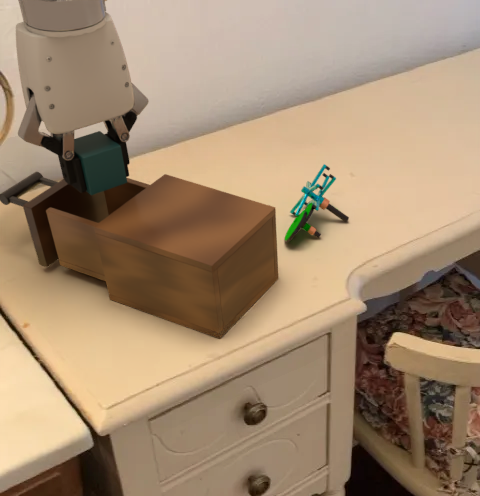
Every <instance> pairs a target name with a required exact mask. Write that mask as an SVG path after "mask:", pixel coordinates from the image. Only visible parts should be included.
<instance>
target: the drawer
mask: <svg viewBox="0 0 480 496" xmlns="http://www.w3.org/2000/svg"><path fill="white" fill-rule="evenodd" d="M126 178H127V183H125V184H122V185H119V186H117V187H114V188H111V189H108V190H105V191H103V192H100V193H97V194H94V195H90V194H89V193H88V192H87V191H86V192H83V193H80V192H79V191H78V190H77V189H76V188H74V187H73V186H72V185H69V184H67V183H66V182H65V180H64V178H63V179H61V180H59V181H56V180H53V179H50V178H47V177H44V176H43V174H42V173H41V172H39V171H34V172H33V173H31V174H30V175H27V176H26V177H24V178H23V179H21V180H20V181H18V182H17V183H15V184H13V185H12V186H10V187H9V188H7V189H6V190H4V191H2V192H1V193H0V202H1V204H3V205H5V206H8V205H10V204H13V205H15V206H19V207H22V209H23V212H24V215H25V220H26V223H27V226H28V229H29V233H30V236H31V240H32V244H33V247H34V250H35V254H36V258H37V261H38V264H39V265H40V266H42V267H45V268H49V267H50V266H51V265H53V264H54V263H55V262H57V261H58V262H59V265H60V266H62V267H64V268H67V269H70V270H72V271H75V272H78V273H81V274H84V275H87V276H89V277H92V278H95V279H97V280H101V281H103V282H106V279H105V275H104V270H103V266H102V261H101V257H100V253H99V248H98V244H97V239H96V235H95V230H94V226H95V225H97V224H98V223H99V222H101V221H102V220H103V219H105V218H106V217H107V216H109V215H110V214H112V213H113V212H114V211H116V210H117V209H118V208H120V207H121V206H122V205H124V204H125V203H126V202H128V201H129V200H130V199H132V198H133V197H135V196H136V195H137V194H139V193H140V192H141V191H143V190H144V189H145V188H147V187H148V186H149V185H150V184H149V183H145V182H142V181H139V180H136V179H132V178H129V177H126ZM40 185H43V186H47V187H49V188H47V189H46V190H44V191H43V192H41V193H39V194H38V195H36V196H35V197H33V198H32V199H31V200H26V199H23V198H20V197H22V196H24V195H25V194H27V193H28V192H30V191H32V190H33V189H35V188H36V187H38V186H40Z"/></svg>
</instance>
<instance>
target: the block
mask: <svg viewBox="0 0 480 496" xmlns="http://www.w3.org/2000/svg"><path fill="white" fill-rule="evenodd" d="M105 134H106V133H103V132H102V131H100V130H98V131H95V132H92V133H89V134H85V135H82V136H80V137H75V138H74V152H75V155H76V156H77V157H78V158H79V159H80V160H81V165H82V169H83V173H84V178H85V182H86V187H87V190H86V191H87V192H88V193H89V194H90V195H94V194H97V193H100V192H103V191H105V190H108V189H111V188H114V187H117V186H119V185H122V184H125V183H127V178H128V177H126V172H125V167H124V162H123V156H122V151H121V146H120V145H119V144H117V143H116V142H114V141H113V140H112V139H110V138H109V137H107V136H106V135H105Z"/></svg>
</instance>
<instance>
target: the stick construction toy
mask: <svg viewBox="0 0 480 496" xmlns="http://www.w3.org/2000/svg"><path fill="white" fill-rule="evenodd" d="M325 170H327V171H330V170H331V167H330V166H328V165H327V164H324V163H323V165H322V166H321V168H320V169H319V170H318V172H317V174H316V175H315V177H314V178H313V180H312V181H309V180H307V182H306V185H303V186H302V187H301V189H300V192H301V193H303V194H302V195H301V197H300V198H299V200H297V202H296V203H295V204H294V206H293V207H292V208H291V210H290V211H289V213H290V214H291V215H293V216H294V217H295V218H294V220H293V221H292V223H291V224H290V225H289V227H288V229H287V231H286V233H285V236H284V241H285V242H287V243H289V242H291V241H292V240H293V239H294V238H295V236H296V235H297V234H298V233H299V232H300V231H301V229H302V230H304V231H305V232H307V233H308V234H309V235H311V236H314V237H316V238H318V239H320V237H321V235H322V233H321V232H319V231H318V230H317V228H315V227H314V226H313V225H311V224H310V223H308V222H309V220H310V219H311V217H312V216H313V213H314V211H316V212H318V211H319V210H320V209H321V210H324V211H325V210H327V211H328V212H330V213H331V214H333V216H336V217H337V218H339V219H340V220H341V221H343V222H344V223H347V222H348V221H349V219H350V217H349V216H348V215H346V214H345V213H344V212H342V211H341V210H339V209H338V208H337V207H335V206H334V205H332V204H331V203H330V201H331V200H329V199H328V198H326V197H324V196H325V193H327V191H328V190H329V189H330V188H331V186H332V185H333V184H334V182H335V181H336V180H337V177H336V176H334V175H333V174H332V173H330V174H326V173H325ZM321 176H323V178H324V180H323V182H322V184H319V183H318V181H319V179H320V178H321ZM317 189H319V190H318V192H317V193H315V192H314V191H316V190H317ZM308 197H309V198H310V200H309V201H308V202H307V199H308ZM304 205H305V206H306V207H305V208H304V209H303V207H304ZM302 209H303V210H302ZM295 211H296V212H295Z"/></svg>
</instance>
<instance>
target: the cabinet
mask: <svg viewBox="0 0 480 496" xmlns="http://www.w3.org/2000/svg"><path fill="white" fill-rule="evenodd" d="M276 214H277V210H276V207H275V206H273V205H268V204H265V203H262V202H259V201H256V200H252V199H249V198H245V197H243V196H238V195H237V194H236V195H235V194H232V193H229V192H226V191H222V190H219V189H217V188H213V187H210V186H206V185H202V184H199V183H197V182H193V181H189V180H186V179H183V178H179V177H177V176H173V175H169V174H167V173H165V174H163V175H162V176H160V177H159V178H158V179H156V180H155V181H153V182H152V183H151V184H149V186H148V187H147V188H145V189H144V190H143V191H141V192H140V193H139V194H137V195H136V196H135V197H133V198H132V199H130V200H129V201H128V202H126V203H125V204H124V205H122V206H121V207H120V208H118V209H117V210H116V211H114V212H113V213H112V214H110V215H109V216H107V217H106V218H105V219H103V220H102V221H101V222H99V223H98V224H97V225H95V226H94V230H95V235H96V239H97V244H98V248H99V253H100V257H101V261H102V266H103V270H104V275H105V279H106V281H105V283H106V288H107V292H108V297H109V300H111V301H114V302H115V303H118V304H121V305H125V306H127V307H130V308H133V309H135V310H138V311H141V312H144V313H146V314H150V315H152V316H155V317H158V318H161V319H164V320H166V321H169V322H171V323H174V324H176V325H180V326H183V327H185V328H188V329H191V330H194V331H197V332H199V333H202V334H205V335H207V336H210V337H213V338H216V339H219V340H221V339H222V338H223V337H224V336H225V335H226V333H228V331H229V330H230V329H232V327H234V326H235V324H236V323H237V322H238V321H239V320H240V319H241V318H242V317H243V316H244V315H245V314H246V313H247V312H248V311H249V310H250V309H251V308H252V307H253V305H255V304H256V303H257V301H258V300H259V299H260V298H261V297H262V296H263V295H265V293H266V292H267V291H268V290H269V289H270V288H271V287H273V285H274V284H275V283H276V282H277V281H278V280H279V278H280V277H279V258H278V237H277V215H276Z"/></svg>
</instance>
